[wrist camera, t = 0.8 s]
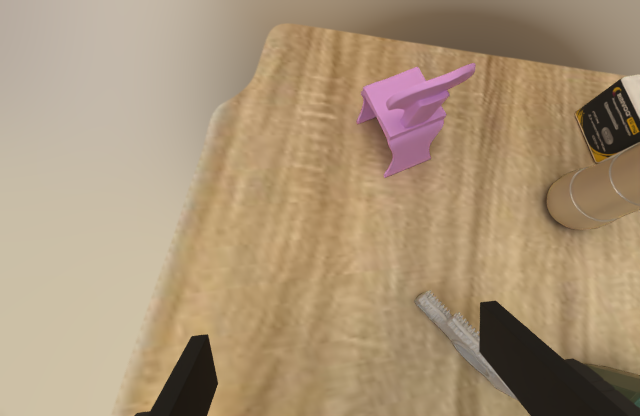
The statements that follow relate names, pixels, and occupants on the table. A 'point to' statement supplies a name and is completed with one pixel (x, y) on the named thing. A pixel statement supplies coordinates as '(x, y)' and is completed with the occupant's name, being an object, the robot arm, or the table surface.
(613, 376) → the pot
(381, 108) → the toy chair
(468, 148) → the table surface
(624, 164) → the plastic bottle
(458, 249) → the table surface
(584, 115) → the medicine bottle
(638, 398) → the pot lid
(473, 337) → the lattice window wall
